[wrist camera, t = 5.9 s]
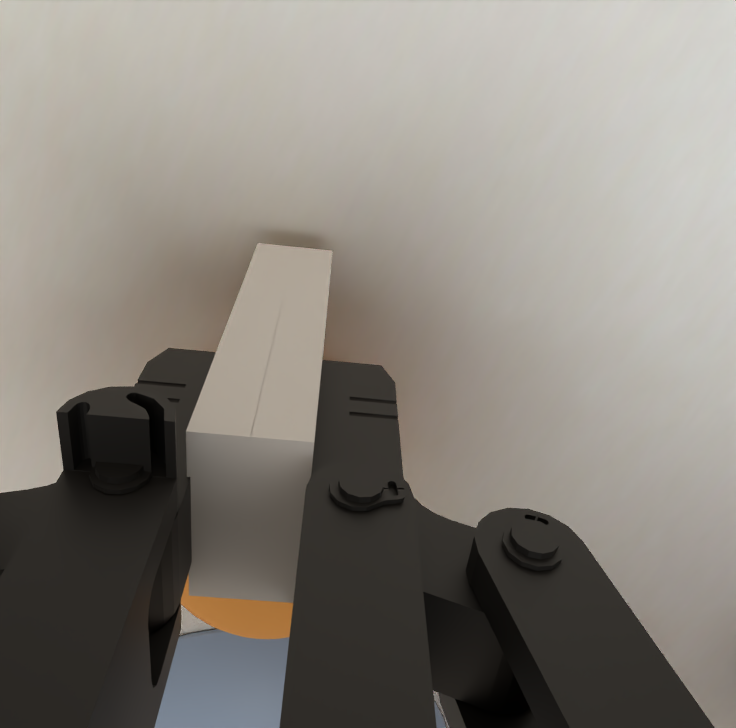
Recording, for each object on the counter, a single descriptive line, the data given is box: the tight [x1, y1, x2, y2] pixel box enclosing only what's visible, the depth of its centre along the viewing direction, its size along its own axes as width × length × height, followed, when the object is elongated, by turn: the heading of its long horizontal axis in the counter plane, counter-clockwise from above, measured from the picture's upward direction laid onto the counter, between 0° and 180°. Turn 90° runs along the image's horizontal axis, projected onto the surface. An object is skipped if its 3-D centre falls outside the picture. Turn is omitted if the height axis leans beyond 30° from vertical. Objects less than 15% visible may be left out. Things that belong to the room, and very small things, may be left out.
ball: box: [181, 573, 293, 639], centre depth 15 cm, size 6×6×6 cm
